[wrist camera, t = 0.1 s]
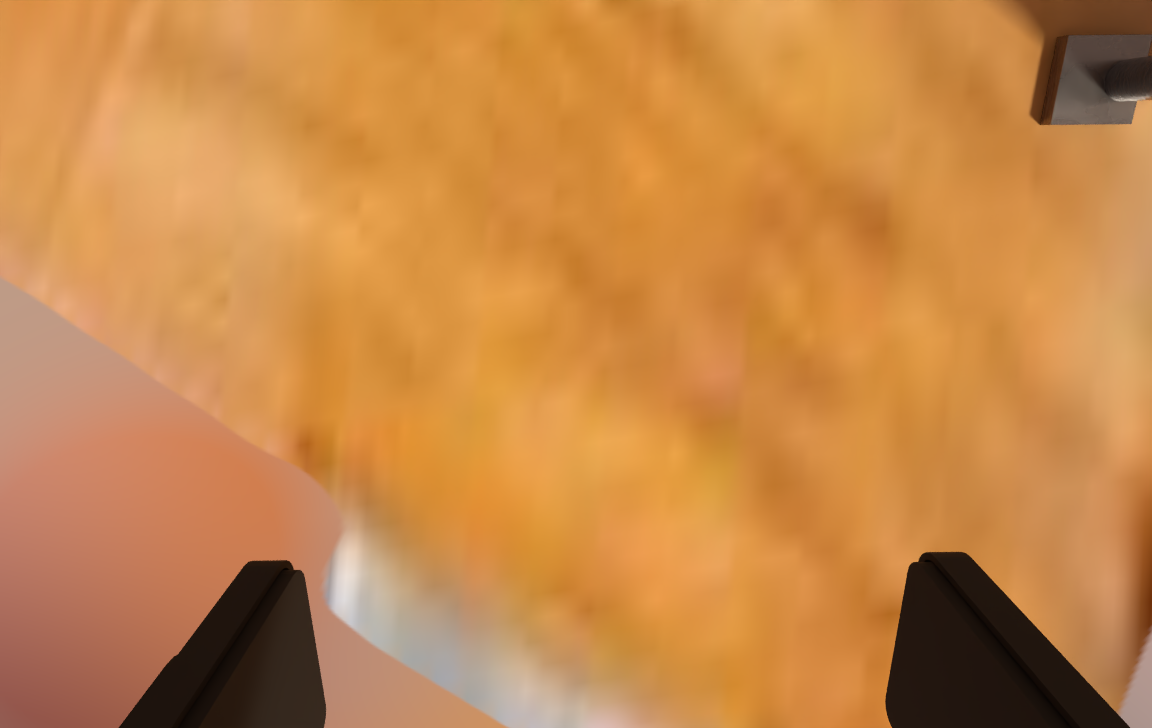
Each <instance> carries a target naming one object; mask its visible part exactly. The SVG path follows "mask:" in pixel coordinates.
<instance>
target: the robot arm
mask: <svg viewBox="0 0 1152 728" xmlns="http://www.w3.org/2000/svg"><path fill="white" fill-rule="evenodd" d="M885 702H886V711H887V716H888V719H889V722H890V724H891V726H892V728H1130V727H1129V726H1128V725H1127V724H1126V723H1125V722H1124V720H1123V719H1122V718H1121V717H1120V716H1119V715H1118V714H1117V713H1116V712H1115V711H1114V710H1113V709H1112V708H1111V707H1110V706H1109V704H1108V703H1107V702H1106V701H1105V700H1104V699H1103V698H1102V697H1101V696H1100V695H1099V694H1098V693H1097V692H1096V691H1095V689H1094V688H1093V687H1092V686H1091V685H1090V684H1089V683H1088V682H1087V681H1086V680H1085V679H1084V678H1083V677H1082V676H1081V675H1080V673H1079V672H1078V671H1077V670H1076V669H1075V668H1074V667H1073V666H1072V665H1071V664H1070V663H1069V662H1068V661H1067V660H1066V658H1065V657H1064V656H1063V655H1062V654H1061V653H1060V652H1059V651H1058V650H1057V649H1056V648H1055V647H1054V646H1053V645H1052V644H1051V642H1050V641H1049V640H1048V639H1047V638H1046V637H1045V636H1044V635H1043V634H1042V633H1041V632H1040V631H1039V630H1038V629H1037V628H1036V626H1035V625H1034V624H1033V623H1032V622H1031V621H1030V620H1029V619H1028V618H1027V617H1026V616H1025V615H1024V614H1023V613H1022V611H1021V610H1020V609H1019V608H1018V607H1017V606H1016V605H1015V604H1014V603H1013V602H1012V601H1011V600H1010V599H1009V598H1008V597H1007V595H1006V594H1005V593H1004V592H1003V591H1002V590H1001V589H1000V588H999V587H998V586H997V585H996V584H995V583H994V582H993V580H992V579H991V578H990V577H989V576H988V575H987V574H986V573H985V572H984V571H983V570H982V569H981V568H980V567H979V566H978V564H977V563H976V562H975V561H974V560H973V559H972V558H971V557H970V556H969V555H967V554H966V553H963V552H926V553H924V554H922V555H921V557H920V558H919V561H918V562H913V563H911V565H910V566H909V569H908V573H907V579H906V584H905V590H904V596H903V601H902V607H901V613H900V619H899V624H898V630H897V636H896V641H895V647H894V653H893V658H892V664H891V670H890V676H889V681H888V687H887V693H886V701H885ZM325 717H326V704H325V698H324V692H323V685H322V679H321V673H320V667H319V661H318V655H317V650H316V643H315V637H314V631H313V625H312V619H311V612H310V606H309V600H308V595H307V588H306V582H305V577H304V574H303V573H302V571H301V570H294V569H293V566H292V564H291V563H290V562H289V561H287V560H281V561H250V562H248V563H247V564H246V565H245V566H244V567H243V568H242V570H241V571H240V572H239V574H238V575H237V576H236V578H235V579H234V581H233V582H232V583H231V584H230V586H229V587H228V588H227V590H226V591H225V592H224V594H223V595H222V596H221V598H220V599H219V601H218V602H217V603H216V604H215V606H214V607H213V608H212V610H211V611H210V612H209V614H208V615H207V616H206V618H205V619H204V620H203V622H202V623H201V624H200V626H199V627H198V628H197V630H196V631H195V633H194V634H193V635H192V636H191V638H190V639H189V640H188V642H187V643H186V644H185V646H184V647H183V648H182V650H181V651H180V652H179V654H178V655H176V656H174V657H173V658H172V659H171V660H170V661H169V663H168V664H167V665H166V666H165V667H164V668H163V670H162V671H161V672H160V674H159V675H158V676H157V678H156V679H155V680H154V682H153V683H152V685H151V686H150V687H149V688H148V690H147V691H146V692H145V694H144V695H143V696H142V698H141V699H140V700H139V702H138V703H137V704H136V706H135V707H134V708H133V710H132V711H131V712H130V713H129V715H128V716H127V717H126V719H125V720H124V721H123V723H122V724H121V726H120V727H119V728H324V724H325Z"/></svg>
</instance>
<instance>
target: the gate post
mask: <svg viewBox="0 0 1152 728" xmlns="http://www.w3.org/2000/svg"><path fill="white" fill-rule="evenodd" d="M1151 41H1152V35H1068V36H1063V37H1058V38H1057V43H1056V48H1055V53H1054V58H1053V62H1052V67H1051V72H1050V77H1049V82H1048V87H1047V92H1046V97H1045V102H1044V107H1043V112H1042V117H1041V122H1040V125H1074V124H1132V119H1133V115H1134V111H1135V107H1136V103H1137V101H1141V100H1152V56H1148V53H1149V49H1150V45H1151Z"/></svg>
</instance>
